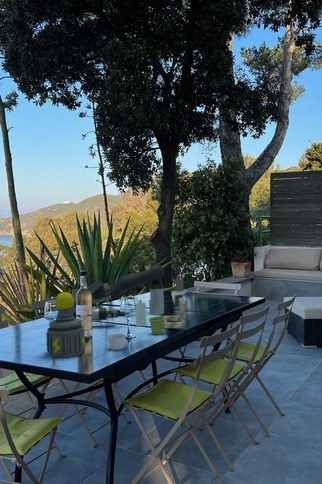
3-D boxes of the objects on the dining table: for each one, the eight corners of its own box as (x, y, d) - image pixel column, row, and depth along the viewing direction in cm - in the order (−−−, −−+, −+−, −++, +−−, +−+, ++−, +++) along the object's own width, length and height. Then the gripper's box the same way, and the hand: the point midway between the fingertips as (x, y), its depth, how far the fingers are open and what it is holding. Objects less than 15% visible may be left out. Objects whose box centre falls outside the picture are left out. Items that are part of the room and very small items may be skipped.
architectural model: (192, 309, 353) (191, 282, 352) (157, 309, 358) (157, 282, 357) (199, 301, 390) (198, 276, 390) (168, 301, 396) (167, 276, 395)
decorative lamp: (58, 347, 252) (56, 289, 251) (92, 349, 247) (90, 289, 246) (39, 357, 234) (36, 294, 233) (75, 359, 229) (72, 295, 228)
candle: (126, 345, 252) (126, 333, 251) (125, 350, 243) (125, 337, 242) (108, 346, 251) (108, 334, 251) (107, 351, 242) (107, 338, 242)
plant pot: (153, 336, 271) (153, 320, 270) (146, 333, 279) (145, 318, 279) (168, 334, 275) (168, 318, 275) (160, 331, 283) (160, 316, 283)
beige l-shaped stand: (164, 328, 290) (163, 304, 290) (162, 320, 313) (161, 298, 313) (186, 327, 291) (185, 303, 290) (183, 320, 314) (182, 298, 313)
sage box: (136, 326, 299) (135, 300, 298) (136, 324, 304) (135, 299, 303) (146, 326, 299) (145, 300, 299) (146, 324, 304) (145, 299, 304)
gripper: (97, 309, 293) (124, 308, 294) (99, 305, 307) (125, 304, 308) (97, 322, 293) (125, 321, 294) (99, 317, 308) (126, 316, 308)
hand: (125, 312), depth 301 cm, fingers open, 8 cm apart
